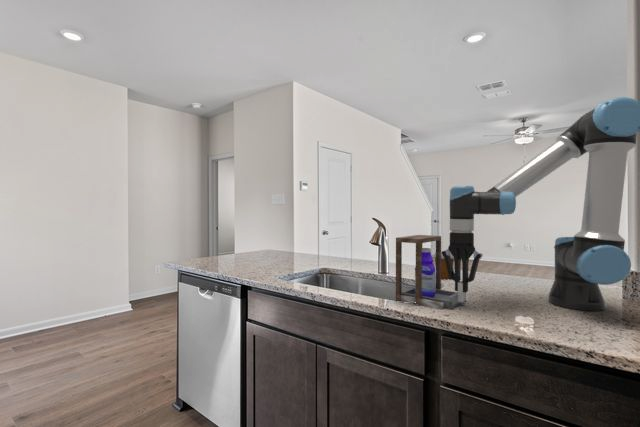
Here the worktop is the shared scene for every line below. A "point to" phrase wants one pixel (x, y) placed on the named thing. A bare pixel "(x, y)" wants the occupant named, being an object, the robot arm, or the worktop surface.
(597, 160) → the robot arm
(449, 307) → the tray
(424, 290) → the bottle
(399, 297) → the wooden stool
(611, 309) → the worktop surface
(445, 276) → the disposable coffee cup
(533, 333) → the worktop surface
